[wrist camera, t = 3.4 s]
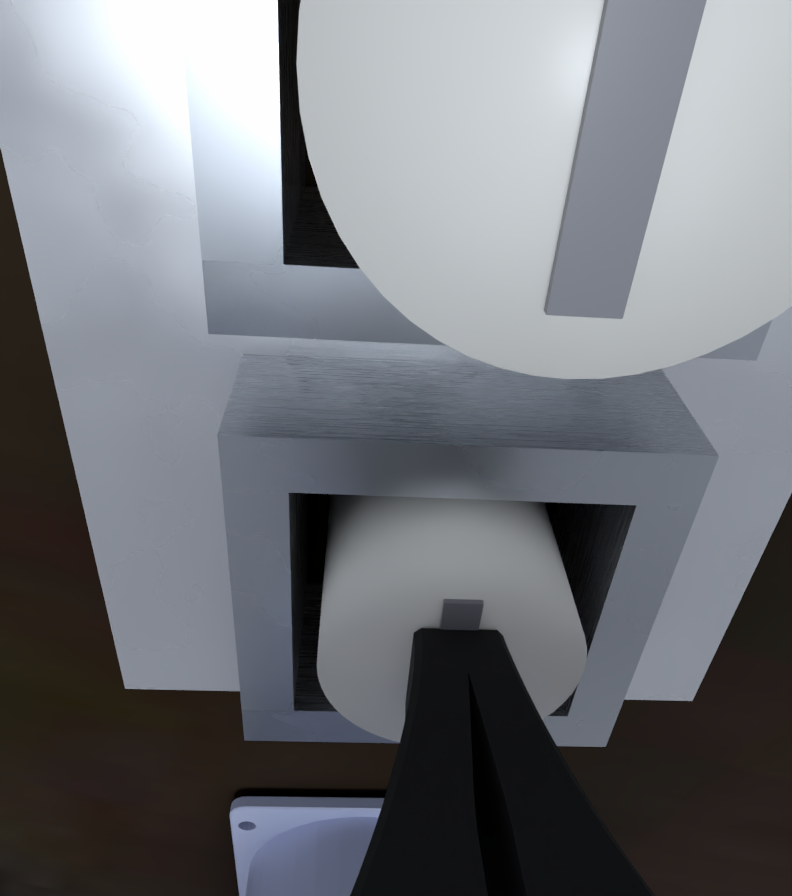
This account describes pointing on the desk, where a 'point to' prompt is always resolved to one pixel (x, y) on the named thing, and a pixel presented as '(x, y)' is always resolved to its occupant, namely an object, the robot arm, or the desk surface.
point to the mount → (328, 384)
